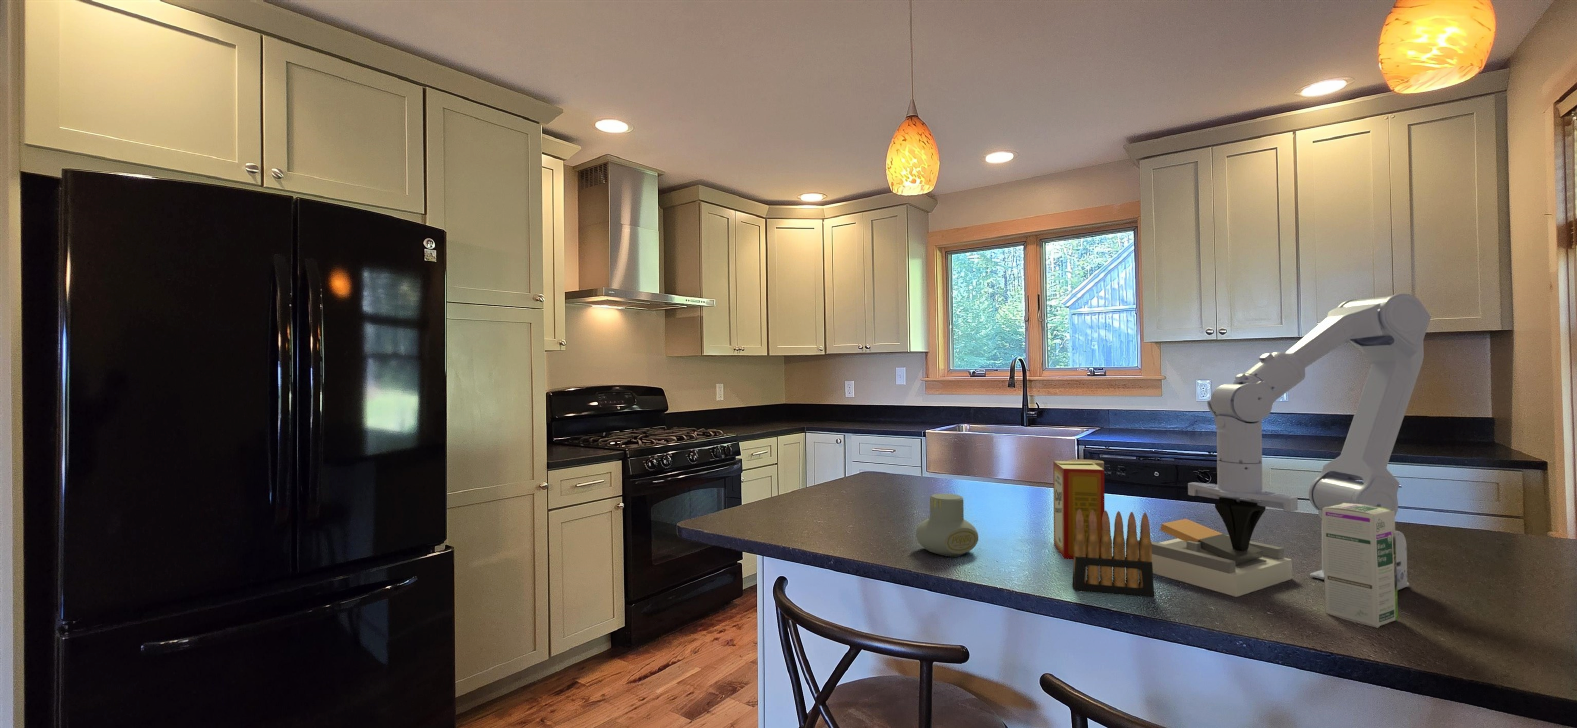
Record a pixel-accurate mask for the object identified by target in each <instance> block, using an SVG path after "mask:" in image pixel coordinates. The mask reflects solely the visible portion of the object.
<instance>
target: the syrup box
mask: <svg viewBox="0 0 1577 728" xmlns="http://www.w3.org/2000/svg"><path fill="white" fill-rule="evenodd" d="M1322 517H1323V554H1324V609H1325V613H1326V614H1328V615H1330V616H1333V617H1336V618H1338V619H1339V618H1340V619H1343V620H1347V621H1349V622H1353V623H1357V624H1360V625H1364V626H1368V627H1372V628H1376V629H1379V628H1380V626H1383V625H1386V624H1390V623H1391V622H1395V621H1397V620H1399V602H1398V601H1399V599H1398V590H1397V567H1396V539H1395V531H1396V520H1395V519H1396V516H1395V513H1394V510H1391V509H1387V508H1382V507H1377V506H1371V505H1363V504H1350V503H1342V504H1340V505H1335V506H1330V507H1324V508H1322Z"/></svg>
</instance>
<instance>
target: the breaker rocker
mask: <svg viewBox="0 0 1577 728" xmlns="http://www.w3.org/2000/svg"><path fill="white" fill-rule="evenodd" d="M1159 531H1161V532H1163V533H1165V534H1167V535H1169V536H1171V537H1173V538H1175V539H1177V538H1178V539H1181V540H1183V541H1185V542H1187V541H1194V542H1199V543H1201V549H1203V550H1206V551H1208V552H1210V553H1212V554H1215V555H1217V556H1219V557H1221V558H1224V559H1228V560H1233V561H1235V564H1241V563H1244V562H1248V561H1252V560H1255V559H1259V558H1262V554H1263V550H1261V549H1258V548H1256V547H1254V546H1251V545H1249V547H1248V550H1244V551H1238V550H1235V549H1233V547H1232V543H1231V540H1230V537H1229V536H1227V535H1228V534H1224V533H1222V532H1219V531H1218V530H1217V531H1216V530H1215V529H1212V528H1209V527H1207V526H1205V525H1203V524H1200V523H1197V522H1195V521H1194V520H1193V521H1192V520H1190V519H1188V518H1183V519H1179V520H1178V519H1177V520H1173V521H1168V522H1163V523H1161V525H1160V528H1159Z"/></svg>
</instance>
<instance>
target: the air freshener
mask: <svg viewBox="0 0 1577 728" xmlns="http://www.w3.org/2000/svg"><path fill="white" fill-rule="evenodd" d="M964 510H965V508H964V497H962V496H961V495H959V494H955V493H935V494H934V493H933V494H932V495H931V496H930V497H929V517H928V518H927V519H925V520H923V521H922V522H920V524H918V526H917V528H916V530H915V537H916V540H917V542H918V544H919V545H920V546H921V547H922V548H924V549H925V550H927V551H928V552H930V553H933V554H936V555H940V556H945V557H952V558H953V557H954V558H955V557H960V556H963V555H965V554H966V553H969V552H970V551H971V550H973V549H974V548H975V547H976V546H977V544H978V542H979V533H978V530H977V529H976V527H975V526H974V525H973V524H972V523H970V522H969V521H967V519H965V518H964V516H965V515H964Z"/></svg>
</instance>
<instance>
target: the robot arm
mask: <svg viewBox="0 0 1577 728" xmlns="http://www.w3.org/2000/svg"><path fill="white" fill-rule="evenodd" d="M1431 318H1432V315H1431V314H1430V313H1429V312H1428V310H1427V308H1426V307H1425V306H1424V304H1423V303H1422V301H1421V300H1419V298H1417V297H1416V296H1415V295H1412V294H1410V293H1405V292H1404V293H1403V292H1402V293H1395V294H1393V295H1386V296H1380V297H1372V298H1371V297H1369V298H1364V299H1363V298H1362V299H1354V298H1353V299H1347V300H1346V301H1343V302H1341V303H1340V304H1339V305H1338V306H1337V307H1335V308H1333V309H1331V310H1330V311H1328V312H1327V316H1326V318H1325V319H1323V320H1322V321H1321V322H1320V323H1318V324H1317V326H1315V327H1314V328H1312V329H1311V330H1310V331H1309V332H1308V333H1306V335H1304V337H1302V338H1301V339H1299V341H1297V343H1295V344H1294V345H1292V346H1291V347H1290V348H1289V349H1288V350H1286V352H1282V351H1274V352H1270V353H1263V354H1261V355H1260V356H1258V360H1259V362H1257V363H1256V364H1255V365H1253V366H1252V367H1251V368H1249V369H1248V370H1246V372H1244V373H1238V374H1237V375H1235V376H1234V378H1235V380H1234V381H1233V382H1232V383H1224V384H1221V385H1220V386H1217V387H1216V388H1215V389H1214V390H1213V392H1212V394H1211V396H1210V400H1207V401H1206V402H1207V403H1206V404H1207V408H1208V410H1209V412H1210V414H1211V415H1212V416H1213V417H1214V425H1215V427H1216V459H1217V460H1216V473H1217V474H1216V475H1217V478H1216V479H1217V480H1216V481H1217V483H1216V484H1213V483H1204V482H1188V483H1187V495H1188V496H1193V497H1194V496H1195V497H1196V496H1199V497H1203V498H1204V497H1205V498H1211V499H1217V500H1218V501H1217V502H1215V503H1214V508H1215V510H1216V512H1217V513H1218V515H1219V516H1220V517H1221V519H1222V522H1223V523H1224V525H1225V528H1226V530H1227V533H1228V534H1227V535H1229V537H1230V540H1231V543H1232V547H1233V549H1235V550H1238V551H1244V550H1248V547H1249V543H1250V541H1251V538H1252V535H1253V533H1254V530H1255V528H1256V526H1257V525H1258V522H1259V520H1260V519H1261V517H1262V516H1263V514H1264V513H1265V511H1266V508H1273V509H1278V510H1283V511H1284V512H1285V511H1286V512H1295V511H1298V510H1299V509H1298V508H1299V507H1298V504H1299V503H1298V500H1299V499H1298V496H1292V495H1286V494H1281V493H1276V492H1272V491H1267V490H1263V438H1262V437H1263V436H1262V435H1263V434H1262V433H1263V429H1262V428H1263V424H1262V423H1263V422H1262V421H1263V419H1267V418H1268V417H1269V415H1270V414H1271V411H1272V409H1273V405H1274V403H1275V402H1276V401H1277V400H1279V399H1280V398H1281V397H1283V396H1284V395H1285V394H1286V393H1288V392H1289V391H1290V390H1292V389H1293V388H1295V387H1296V386H1297V385H1298V384H1300V383H1302V381H1304V379H1306V368H1307V367H1309V366H1311V365H1312V364H1314V363H1316V362H1317V361H1318V360H1320V359H1321V358H1322V357H1324V356H1326V355H1328V353H1330V352H1332V351H1334V350H1335V349H1336V348H1338V347H1339V346H1341V345H1343V344H1344V343H1346V342H1347V341H1348V342H1349V343H1351V345H1353V346H1354V347H1355V348H1357V349H1358V350H1359V351H1360V352H1362V353H1363V354H1365V355H1367V357H1368V358H1369V360H1370V361H1371V366H1370V368H1369V372H1368V374H1367V377H1366V380H1365V383H1364V385H1363V388H1362V391H1361V394H1360V397H1359V400H1358V404H1357V407H1356V410H1355V412H1354V415H1353V418H1352V421H1351V424H1350V426H1349V428H1348V429H1349V430H1348V433H1347V436H1346V439H1345V441H1344V444H1343V447H1342V450H1341V452H1340V455H1339V456H1337V457H1336V458H1334V459H1332V460H1330V461H1329V462H1327V463H1324V465H1323V467H1322V469H1321V472H1320V474H1319V475H1318V476H1317V477H1316V478H1315V479H1314V480H1313V481H1312V482H1311V484H1310V486H1309V489H1308V499H1309V502H1310V503H1311V505H1312V507H1313V508H1314V509H1315V510H1316V511H1318V512H1317V513H1318V518H1321V569H1320V570H1316V571H1314V572H1311V573H1310V574H1309V576H1310V577H1312V578H1316V579H1320V580H1324V554H1323V517H1322V508H1324V507H1330V506H1335V505H1340V504H1342V503H1350V504H1363V505H1371V506H1377V507H1382V508H1387V509H1391V510H1394V513H1395V517H1397V516H1396V515H1397V514H1398V509H1399V502H1398V492H1399V487H1400V485H1401V483H1400V482H1399V480H1398V479H1397V478H1396V477H1395V476H1394V475H1393V474H1392V473H1391V472H1390V470H1389V469H1388V468H1387V467H1388V464H1389V461H1390V459H1391V456H1392V452H1393V450H1394V446H1395V444H1396V441H1397V438H1398V436H1399V432H1400V429H1401V427H1402V424H1403V420H1404V418H1405V415H1406V412H1407V410H1408V406H1409V403H1410V400H1411V397H1412V395H1413V391H1414V389H1415V386H1416V383H1417V379H1418V376H1419V374H1420V371H1421V368H1422V366H1423V362H1424V358H1425V357H1424V356H1425V354H1424V351H1425V350H1424V349H1425V348H1424V339H1425V337H1426V336H1425V335H1426V333H1427V329H1428V327H1429V324H1430V322H1431ZM1395 539H1396V567H1397V591H1399V590H1402V589H1404V588H1406V587H1409V586H1410V583H1409V582H1408V548H1407V547H1408V546H1407V540H1406V537H1405V535H1404V533H1403V532H1401V531H1399V530H1395Z"/></svg>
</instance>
